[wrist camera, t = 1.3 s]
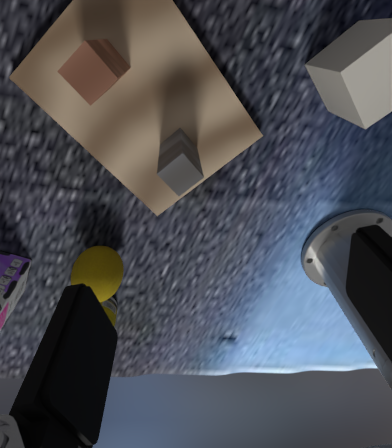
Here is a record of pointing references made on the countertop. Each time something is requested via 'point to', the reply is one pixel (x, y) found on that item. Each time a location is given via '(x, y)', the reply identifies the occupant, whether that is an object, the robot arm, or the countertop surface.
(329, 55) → the white rectangular block
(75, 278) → the lemon
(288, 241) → the countertop surface
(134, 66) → the stand
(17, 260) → the candy box
